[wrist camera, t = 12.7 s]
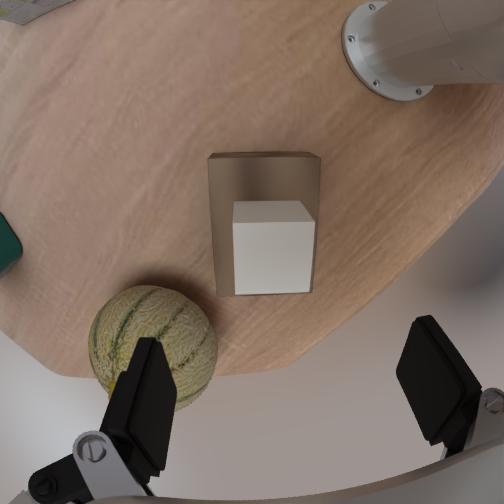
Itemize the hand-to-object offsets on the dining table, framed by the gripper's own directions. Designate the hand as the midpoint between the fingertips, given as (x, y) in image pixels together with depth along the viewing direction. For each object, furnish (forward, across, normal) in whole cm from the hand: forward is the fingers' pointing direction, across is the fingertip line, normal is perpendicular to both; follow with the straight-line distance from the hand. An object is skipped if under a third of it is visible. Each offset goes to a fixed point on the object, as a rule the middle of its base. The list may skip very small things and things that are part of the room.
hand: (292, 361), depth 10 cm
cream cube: (+19, 0, +3) cm, 19 cm away
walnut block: (+24, 0, +3) cm, 24 cm away
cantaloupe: (+24, +13, +15) cm, 31 cm away
